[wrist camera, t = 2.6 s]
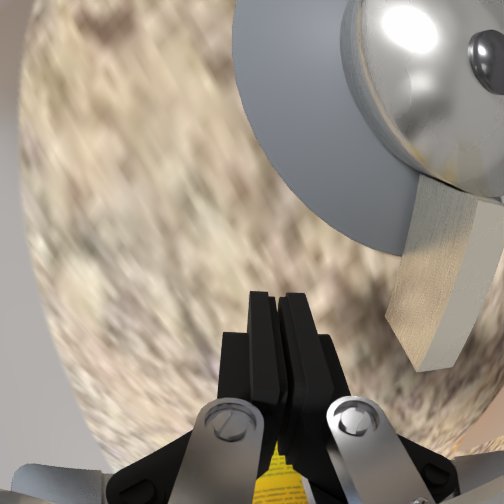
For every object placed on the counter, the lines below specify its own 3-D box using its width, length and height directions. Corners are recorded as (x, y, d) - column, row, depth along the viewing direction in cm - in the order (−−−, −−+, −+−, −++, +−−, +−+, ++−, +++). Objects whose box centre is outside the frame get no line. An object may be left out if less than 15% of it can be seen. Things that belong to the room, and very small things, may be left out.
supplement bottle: (227, 384, 19) (218, 584, 7) (331, 379, 19) (375, 567, 7) (234, 437, 21) (231, 588, 10) (318, 433, 21) (343, 578, 10)
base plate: (248, -102, 7) (248, -117, 6) (527, 0, 8) (541, -3, 6) (222, 235, 14) (220, 247, 13) (508, 254, 15) (521, 264, 14)
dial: (340, -59, 7) (371, -107, 3) (514, 18, 8) (566, 11, 4) (306, 315, 14) (323, 380, 10) (469, 311, 15) (506, 355, 11)
